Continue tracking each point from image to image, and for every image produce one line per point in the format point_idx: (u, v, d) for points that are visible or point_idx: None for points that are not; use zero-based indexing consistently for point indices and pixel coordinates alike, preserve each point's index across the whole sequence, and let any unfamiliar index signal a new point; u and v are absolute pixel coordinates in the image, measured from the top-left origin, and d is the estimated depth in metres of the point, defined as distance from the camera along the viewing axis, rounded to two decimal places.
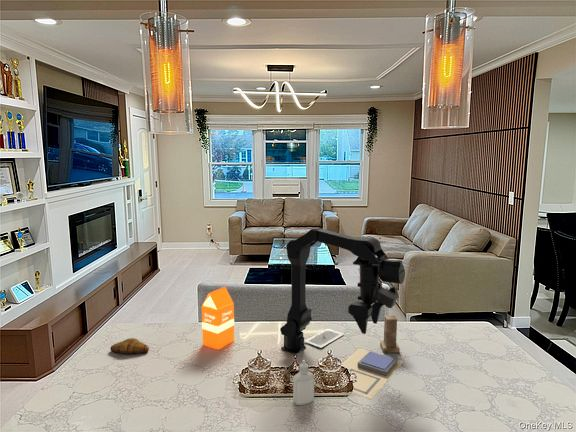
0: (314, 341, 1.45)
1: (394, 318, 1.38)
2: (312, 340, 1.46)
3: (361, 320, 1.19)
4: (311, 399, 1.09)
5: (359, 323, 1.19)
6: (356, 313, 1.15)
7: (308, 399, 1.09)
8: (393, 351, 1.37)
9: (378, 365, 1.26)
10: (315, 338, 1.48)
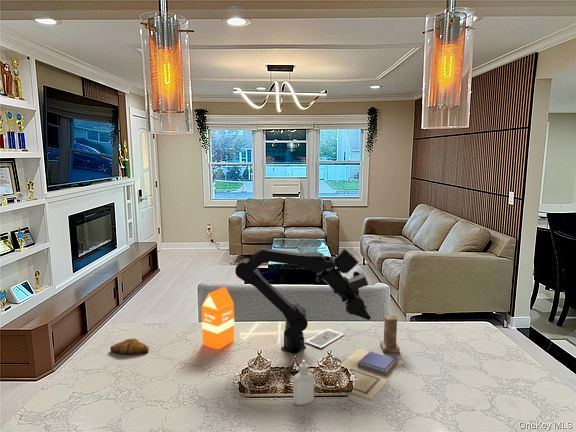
0: (314, 342, 1.45)
1: (394, 318, 1.38)
2: (312, 340, 1.46)
3: (360, 311, 1.32)
4: (311, 399, 1.09)
5: (361, 314, 1.32)
6: (355, 308, 1.29)
7: (308, 399, 1.09)
8: (393, 351, 1.37)
9: (378, 365, 1.26)
10: (315, 338, 1.48)
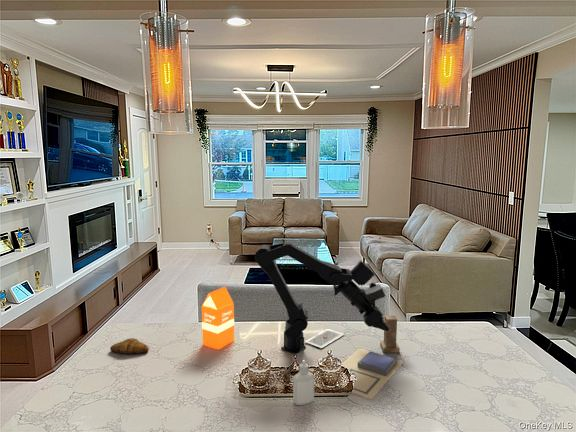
0: (314, 342, 1.45)
1: (394, 318, 1.38)
2: (312, 340, 1.46)
3: (379, 323, 1.33)
4: (311, 399, 1.09)
5: (380, 326, 1.33)
6: (374, 320, 1.29)
7: (308, 399, 1.09)
8: (393, 351, 1.37)
9: (378, 365, 1.26)
10: (315, 338, 1.48)
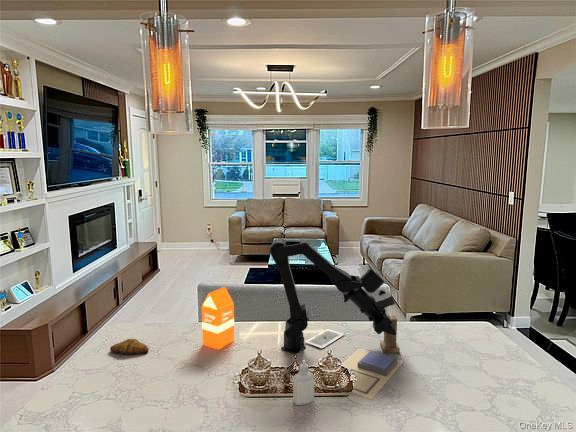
0: (314, 342, 1.44)
1: (394, 318, 1.38)
2: (313, 341, 1.46)
3: (387, 327, 1.36)
4: (311, 399, 1.09)
5: (387, 330, 1.36)
6: (384, 328, 1.29)
7: (308, 399, 1.09)
8: (393, 351, 1.37)
9: (378, 365, 1.26)
10: (316, 338, 1.48)
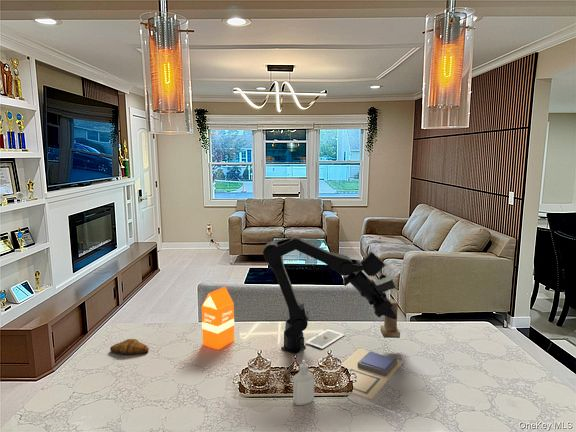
0: (315, 342, 1.44)
1: (395, 302, 1.37)
2: (313, 341, 1.45)
3: (387, 311, 1.35)
4: (311, 399, 1.09)
5: (388, 314, 1.35)
6: (384, 311, 1.28)
7: (308, 399, 1.09)
8: (393, 335, 1.36)
9: (378, 365, 1.26)
10: (316, 338, 1.47)
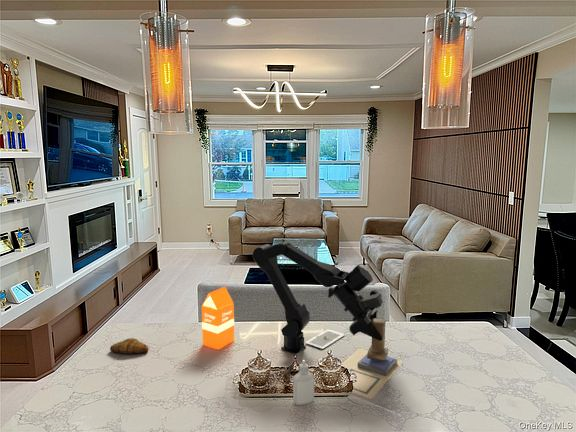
0: (315, 342, 1.44)
1: (381, 322, 1.26)
2: (313, 341, 1.45)
3: (370, 330, 1.25)
4: (311, 399, 1.09)
5: (371, 334, 1.25)
6: (358, 329, 1.20)
7: (308, 399, 1.09)
8: (378, 358, 1.26)
9: (378, 365, 1.26)
10: (316, 339, 1.47)
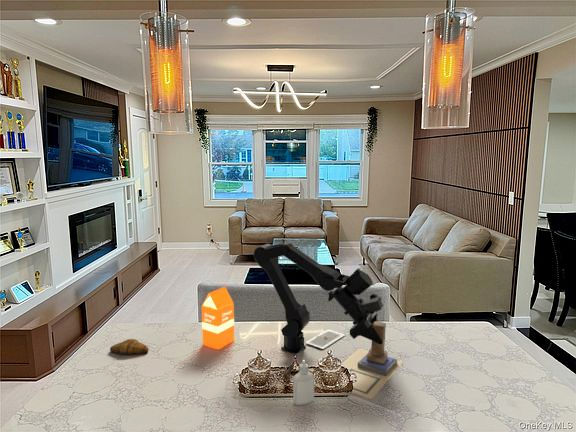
0: (315, 343, 1.44)
1: (382, 325, 1.26)
2: (313, 341, 1.45)
3: (370, 334, 1.25)
4: (311, 399, 1.09)
5: (371, 337, 1.26)
6: (358, 333, 1.20)
7: (308, 399, 1.09)
8: (377, 361, 1.26)
9: (378, 365, 1.26)
10: (316, 339, 1.47)
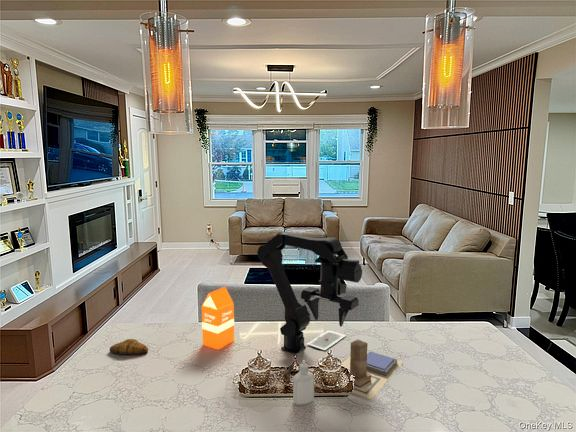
0: (316, 344, 1.43)
1: (360, 345, 1.17)
2: (315, 343, 1.44)
3: (344, 313, 1.27)
4: (311, 399, 1.09)
5: (343, 317, 1.27)
6: (354, 306, 1.25)
7: (308, 399, 1.09)
8: (354, 382, 1.18)
9: (378, 365, 1.26)
10: (317, 340, 1.46)
